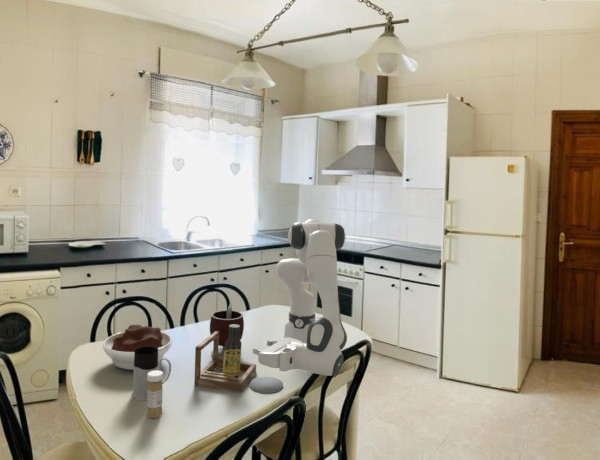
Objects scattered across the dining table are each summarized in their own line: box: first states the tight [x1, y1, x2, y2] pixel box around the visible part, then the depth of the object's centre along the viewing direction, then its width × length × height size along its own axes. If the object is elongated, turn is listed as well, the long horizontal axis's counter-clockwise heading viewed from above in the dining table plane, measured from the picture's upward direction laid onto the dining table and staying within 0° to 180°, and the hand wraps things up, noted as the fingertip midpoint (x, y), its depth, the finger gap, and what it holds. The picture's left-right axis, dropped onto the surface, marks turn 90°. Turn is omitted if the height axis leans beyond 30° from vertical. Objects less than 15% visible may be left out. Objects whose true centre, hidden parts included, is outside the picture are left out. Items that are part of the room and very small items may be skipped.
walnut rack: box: [193, 331, 257, 393], centre depth 167 cm, size 18×17×14 cm
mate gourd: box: [209, 302, 245, 360], centre depth 190 cm, size 16×14×20 cm
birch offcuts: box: [202, 371, 239, 382], centre depth 163 cm, size 4×12×4 cm, turn 78°
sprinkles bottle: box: [146, 370, 164, 419], centre depth 139 cm, size 5×5×14 cm
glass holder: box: [131, 347, 172, 401], centre depth 151 cm, size 9×14×15 cm, turn 69°
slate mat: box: [248, 376, 284, 394], centre depth 164 cm, size 12×12×1 cm
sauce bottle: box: [221, 324, 242, 379], centre depth 168 cm, size 6×6×20 cm
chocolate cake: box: [102, 324, 173, 371], centre depth 175 cm, size 25×25×15 cm
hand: (261, 346), depth 161 cm, fingers open, 8 cm apart
